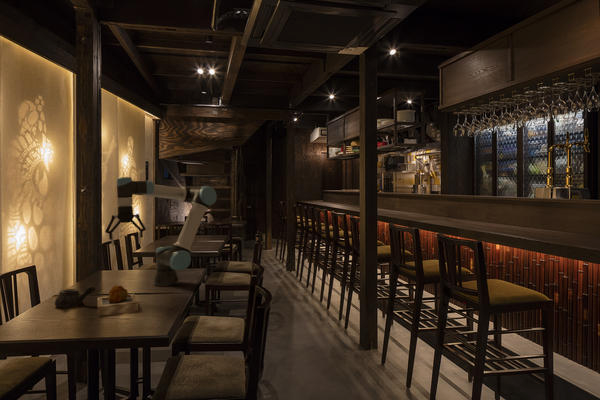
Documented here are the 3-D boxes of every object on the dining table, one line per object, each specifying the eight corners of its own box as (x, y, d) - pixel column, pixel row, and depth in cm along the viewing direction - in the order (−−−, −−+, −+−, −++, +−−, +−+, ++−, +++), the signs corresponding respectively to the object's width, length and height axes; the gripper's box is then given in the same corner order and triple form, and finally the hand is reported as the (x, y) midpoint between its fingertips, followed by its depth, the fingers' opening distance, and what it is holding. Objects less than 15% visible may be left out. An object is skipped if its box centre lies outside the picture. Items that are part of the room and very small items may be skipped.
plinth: (134, 301, 211) (134, 293, 211) (138, 310, 194) (137, 302, 194) (97, 306, 204) (97, 297, 204) (98, 315, 187) (97, 306, 187)
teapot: (48, 311, 195) (47, 290, 195) (60, 303, 210) (60, 283, 210) (91, 308, 199) (90, 288, 199) (100, 300, 214) (99, 281, 214)
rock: (106, 310, 199) (110, 292, 206) (125, 311, 202) (128, 293, 208) (107, 298, 191) (111, 280, 198) (126, 299, 194) (129, 281, 201)
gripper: (148, 204, 232) (149, 242, 232) (99, 206, 220) (100, 245, 220) (150, 204, 225) (151, 243, 226) (100, 206, 213) (101, 247, 214)
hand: (126, 244), depth 223 cm, fingers open, 13 cm apart
